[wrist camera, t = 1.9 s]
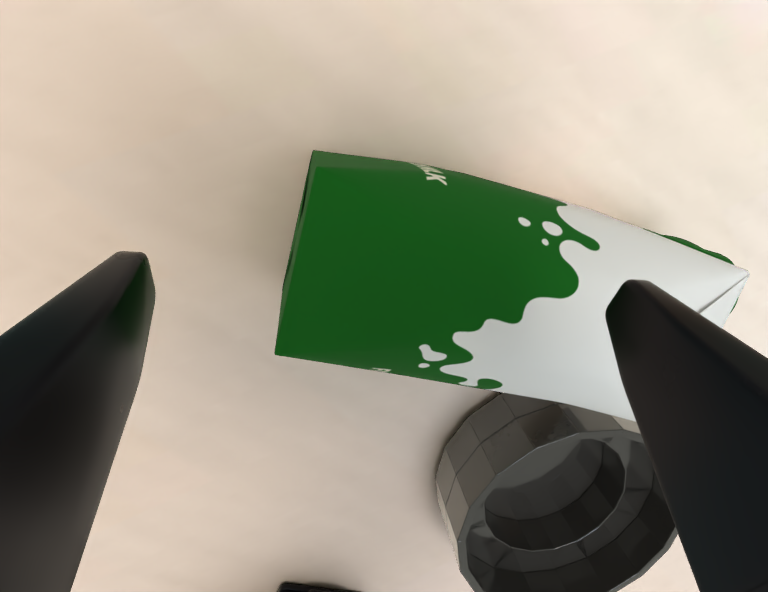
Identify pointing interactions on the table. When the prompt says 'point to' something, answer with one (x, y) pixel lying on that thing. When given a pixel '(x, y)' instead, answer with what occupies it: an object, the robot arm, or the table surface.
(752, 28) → the table surface
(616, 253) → the milk carton
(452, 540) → the bowl
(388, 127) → the table surface
